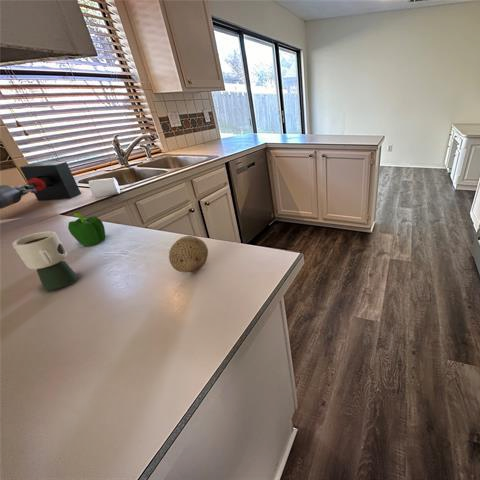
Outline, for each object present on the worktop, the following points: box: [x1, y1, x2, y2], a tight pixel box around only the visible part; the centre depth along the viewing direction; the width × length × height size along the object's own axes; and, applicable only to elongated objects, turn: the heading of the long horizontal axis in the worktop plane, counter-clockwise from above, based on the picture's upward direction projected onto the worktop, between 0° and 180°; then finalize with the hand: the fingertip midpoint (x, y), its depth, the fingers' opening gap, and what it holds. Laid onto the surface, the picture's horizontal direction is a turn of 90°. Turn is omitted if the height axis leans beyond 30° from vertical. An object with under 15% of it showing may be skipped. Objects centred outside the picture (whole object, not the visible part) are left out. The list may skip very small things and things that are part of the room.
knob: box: [27, 177, 51, 191], centre depth 120 cm, size 6×6×6 cm
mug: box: [88, 177, 121, 198], centre depth 130 cm, size 12×10×8 cm
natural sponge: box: [168, 235, 209, 274], centre depth 66 cm, size 9×9×10 cm
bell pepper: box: [67, 212, 106, 247], centre depth 82 cm, size 8×8×10 cm
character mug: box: [12, 230, 78, 291], centre depth 62 cm, size 11×7×13 cm, turn 51°
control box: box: [19, 161, 82, 202], centre depth 126 cm, size 8×14×16 cm, turn 101°
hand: (33, 185), depth 116 cm, fingers closed
